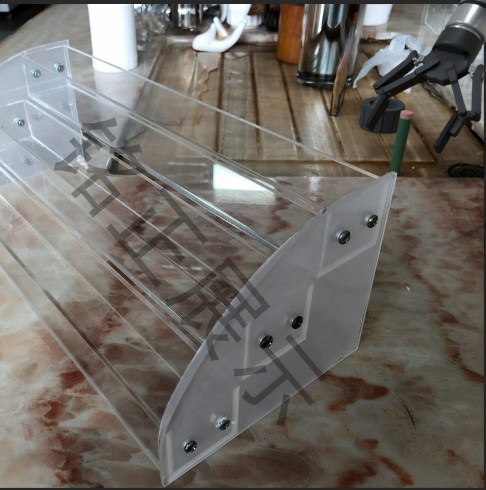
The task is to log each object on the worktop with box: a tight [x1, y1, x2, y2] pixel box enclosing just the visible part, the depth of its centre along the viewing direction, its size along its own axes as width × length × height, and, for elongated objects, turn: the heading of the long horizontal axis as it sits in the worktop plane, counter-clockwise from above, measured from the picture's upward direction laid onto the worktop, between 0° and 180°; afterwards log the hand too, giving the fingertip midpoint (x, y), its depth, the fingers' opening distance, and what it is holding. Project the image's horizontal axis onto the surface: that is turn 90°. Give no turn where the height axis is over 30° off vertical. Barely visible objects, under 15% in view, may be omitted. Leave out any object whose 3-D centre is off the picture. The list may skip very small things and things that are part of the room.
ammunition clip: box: [328, 50, 349, 117], centre depth 136 cm, size 11×2×12 cm, turn 158°
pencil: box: [388, 109, 414, 176], centre depth 108 cm, size 2×2×12 cm
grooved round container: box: [358, 96, 406, 134], centre depth 129 cm, size 9×9×5 cm
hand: (401, 138), depth 108 cm, fingers open, 13 cm apart
